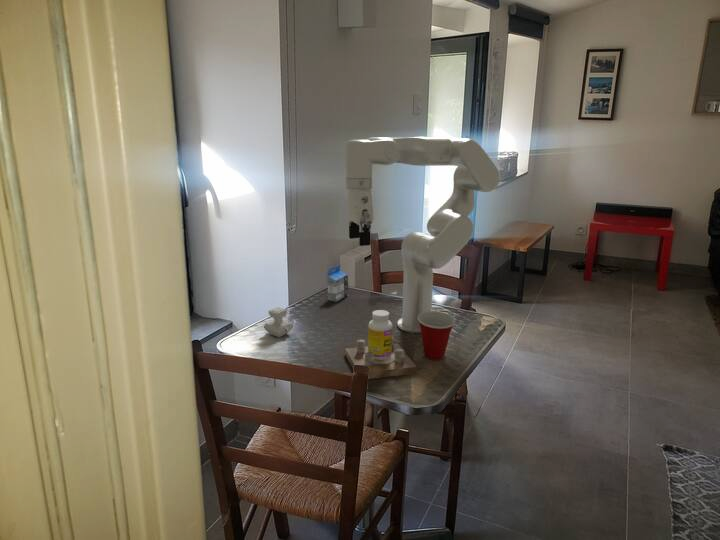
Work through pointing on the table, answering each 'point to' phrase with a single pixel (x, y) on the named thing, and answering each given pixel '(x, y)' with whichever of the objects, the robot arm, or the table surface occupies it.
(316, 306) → the table surface
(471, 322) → the table surface
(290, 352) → the table surface
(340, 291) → the label tape box
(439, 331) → the plastic cup
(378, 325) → the supplement bottle
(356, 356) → the stub board
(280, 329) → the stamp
